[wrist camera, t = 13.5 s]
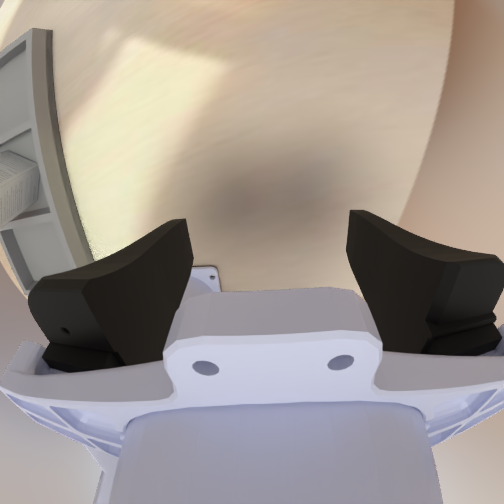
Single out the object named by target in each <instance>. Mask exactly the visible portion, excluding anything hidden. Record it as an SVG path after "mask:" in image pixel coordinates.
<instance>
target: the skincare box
mask: <svg viewBox="0 0 504 504" xmlns="http://www.w3.org/2000/svg"><path fill="white" fill-rule="evenodd" d="M39 177H40V171H39V167H38V164H37V163H35V162H33V161H30V160H28V159H26V158H24V157H21V156H19V155H17V154H15V153H12V152H10V151H8V150H6V151H3V152H1V153H0V229H1V228H2V227H3V226H5V225H6V224H7V223H8V222H10V221H11V220H12V219H14V218H15V217H16V216H18V215H19V214H20V213H22V212H23V211H24V210H26V209H27V208H28V207H30V206H31V205H33V204H34V203H36V202H37V199H38V186H39Z"/></svg>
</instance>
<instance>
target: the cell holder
mask: <svg viewBox="0 0 504 504" xmlns="http://www.w3.org/2000/svg"><path fill="white" fill-rule="evenodd" d="M6 150H8V151H10V152H12V153H15V154H17V155H19V156H21V157H24V158H26V159H28V160H30V161H33V162H35V163H37V164H38V167H39V171H40V177H39V186H38V199H37V202H36V203H34V204H33V205H31V206H30V207H28V208H27V209H26V210H24V211H23V212H22V213H20V214H19V215H18V216H16V217H15V218H14V219H12V220H11V221H10V222H8V223H7V224H6V225H5V226H3V227H2V228H1V229H0V242H1V244H2V247H3V249H4V252H5V254H6V256H7V259H8V261H9V263H10V265H11V268H12V270H13V272H14V274H15V276H16V278H17V280H18V282H19V284H20V286H21V288H22V290H23V292H24V294H25V295H29V292H30V291H31V290H32V289H33V287H34V286H35V285H36V284H37V283H38V281H39V280H40V279H41V278H42V277H44V276H48V275H53V274H57V273H61V272H65V271H69V270H73V269H76V268H79V267H82V266H85V265H88V264H91V263H93V262H94V259H93V256H92V254H91V251H90V248H89V245H88V242H87V239H86V236H85V233H84V230H83V227H82V224H81V221H80V218H79V215H78V211H77V208H76V204H75V201H74V197H73V193H72V190H71V186H70V182H69V178H68V173H67V169H66V165H65V160H64V155H63V150H62V145H61V139H60V133H59V127H58V120H57V113H56V105H55V95H54V83H53V66H52V30H45V29H38V28H32V29H30V30H29V31H27V32H26V33H24V34H23V35H22V36H20V37H19V38H18V39H16V40H15V41H14V42H12V43H11V44H10V45H8V46H7V47H6V48H5V49H3V50H2V51H1V52H0V153H1V152H3V151H6Z"/></svg>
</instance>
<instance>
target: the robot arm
mask: <svg viewBox="0 0 504 504" xmlns="http://www.w3.org/2000/svg"><path fill="white" fill-rule="evenodd" d="M346 252H347V256H348V260H349V263H350V266H351V269H352V271H353V274H354V276H355V278H356V281H357V283H358V285H359V287H360V289H361V292H362V294H363V296H364V299H365V301H366V302H365V301H364V300H363V299H362V298H361V297H360V296H359V295H357V294H356V293H355V292H354V291H353V290H346V289H340V288H333V287H319V288H303V289H285V290H264V291H238V292H221V288H220V283H219V277H218V271H217V269H216V268H215V267H212V266H210V267H192V265H193V259H194V257H193V252H192V247H191V242H190V238H189V233H188V228H187V223H186V219H174V220H170V221H168V222H166V223H165V224H163V225H161V226H160V227H158V228H156V229H155V230H153V231H152V232H150V233H148V234H147V235H145V236H144V237H142V238H140V239H139V240H137V241H135V242H134V243H132V244H131V245H129V246H127V247H125V248H124V249H122V250H120V251H118V252H116V253H114V254H112V255H110V256H107V257H105V258H103V259H100V260H98V261H95V262H93V263H91V264H88V265H85V266H82V267H79V268H76V269H73V270H69V271H65V272H61V273H57V274H53V275H48V276H44V277H42V278H41V279H40V280H39V281H38V283H37V284H36V285H35V286H34V287H33V289H32V290H31V291H30V292H29V295H28V305H29V308H30V311H31V313H32V315H33V317H34V319H35V321H36V322H37V324H38V325H39V327H40V328H41V330H42V331H43V333H44V334H45V336H46V337H47V339H48V340H49V342H50V343H49V345H48V347H47V348H45V347H44V346H43V345H41V344H38V343H34V342H30V341H26V340H25V341H23V342H22V344H21V345H20V347H19V348H18V350H17V352H16V353H15V355H14V357H13V358H12V360H11V362H10V363H9V365H8V367H7V369H6V371H5V373H4V374H3V376H2V378H1V380H0V390H1V391H2V392H3V393H4V394H5V395H6V396H7V397H8V398H9V399H10V400H11V401H12V402H13V403H14V404H15V405H17V406H18V407H19V408H20V409H21V410H22V411H23V412H25V414H27V415H28V416H29V417H30V418H31V419H33V420H34V421H35V422H37V423H39V424H41V425H43V426H45V427H47V428H49V429H51V430H53V431H55V432H57V433H59V434H62V435H64V436H66V437H68V438H70V439H73V440H74V441H77V442H79V443H82V444H83V445H84V446H85V448H86V449H87V450H88V452H89V453H90V454H91V456H92V457H93V458H94V460H95V461H96V462H97V464H98V465H99V466H100V467H101V469H102V473H101V476H100V480H99V483H98V487H97V491H96V494H95V498H94V503H93V504H443V501H442V495H441V489H440V484H439V479H438V475H437V470H436V465H435V461H434V458H433V453H432V449H431V447H433V446H435V445H437V444H440V443H442V442H444V441H446V440H448V439H450V438H452V437H454V436H456V435H458V434H460V433H462V432H463V431H466V430H468V429H470V428H471V427H473V426H475V425H477V424H478V423H480V422H482V421H484V420H486V419H487V418H489V417H491V416H493V415H494V414H496V413H498V412H499V411H501V410H503V409H504V324H503V325H501V326H500V327H499V328H498V329H497V328H496V326H495V325H494V323H493V322H495V321H496V316H495V314H494V313H493V309H494V308H495V305H496V304H497V301H498V300H499V297H500V295H501V293H502V291H503V288H504V263H503V262H502V261H501V260H500V259H499V258H498V257H497V256H496V255H492V254H484V253H478V252H471V251H466V250H461V249H457V248H453V247H449V246H446V245H442V244H439V243H436V242H433V241H430V240H427V239H425V238H422V237H420V236H417V235H415V234H413V233H410V232H408V231H406V230H404V229H402V228H400V227H398V226H396V225H394V224H392V223H390V222H388V221H386V220H384V219H382V218H380V217H379V216H377V215H375V214H372V213H370V212H368V211H365V210H350V214H349V226H348V236H347V245H346ZM211 275H214V276H215V277H211Z"/></svg>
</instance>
